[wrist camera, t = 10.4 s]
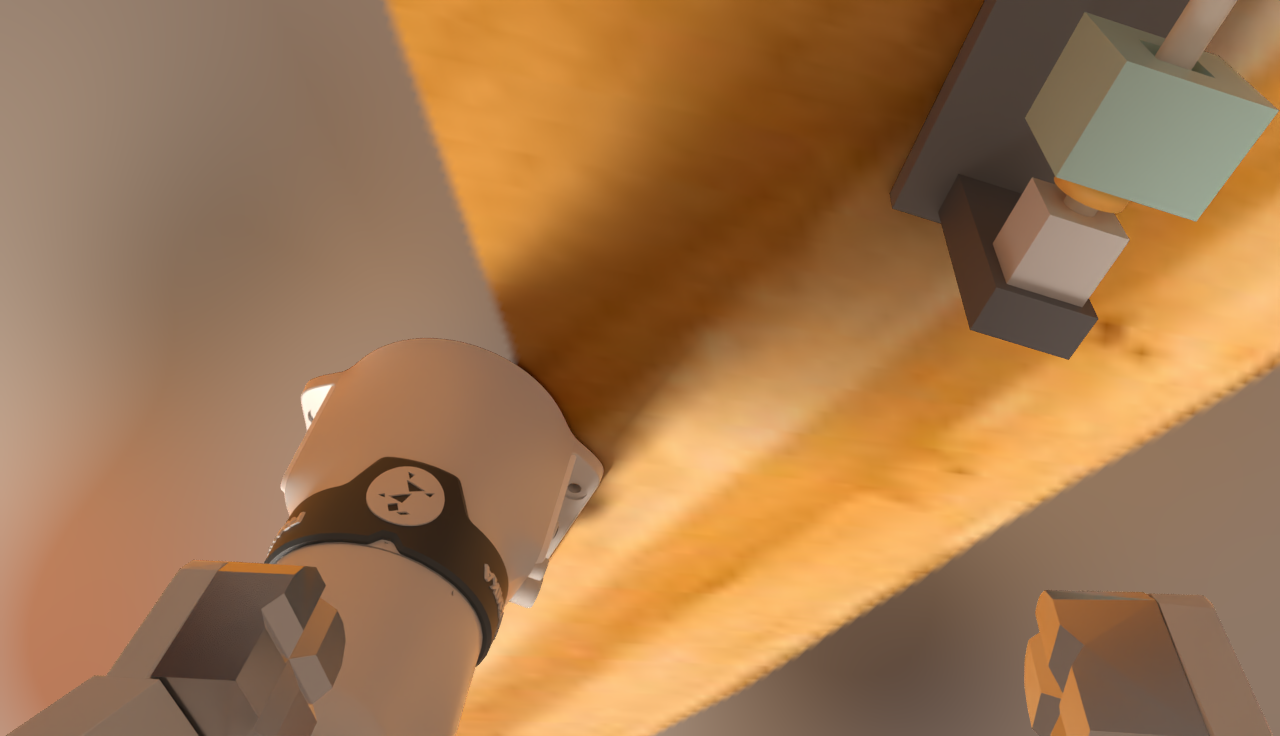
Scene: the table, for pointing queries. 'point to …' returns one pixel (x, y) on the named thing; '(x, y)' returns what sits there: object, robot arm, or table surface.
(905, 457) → the table surface
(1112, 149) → the sleeve
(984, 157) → the sliding block rail stand
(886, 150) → the table surface
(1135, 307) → the table surface
